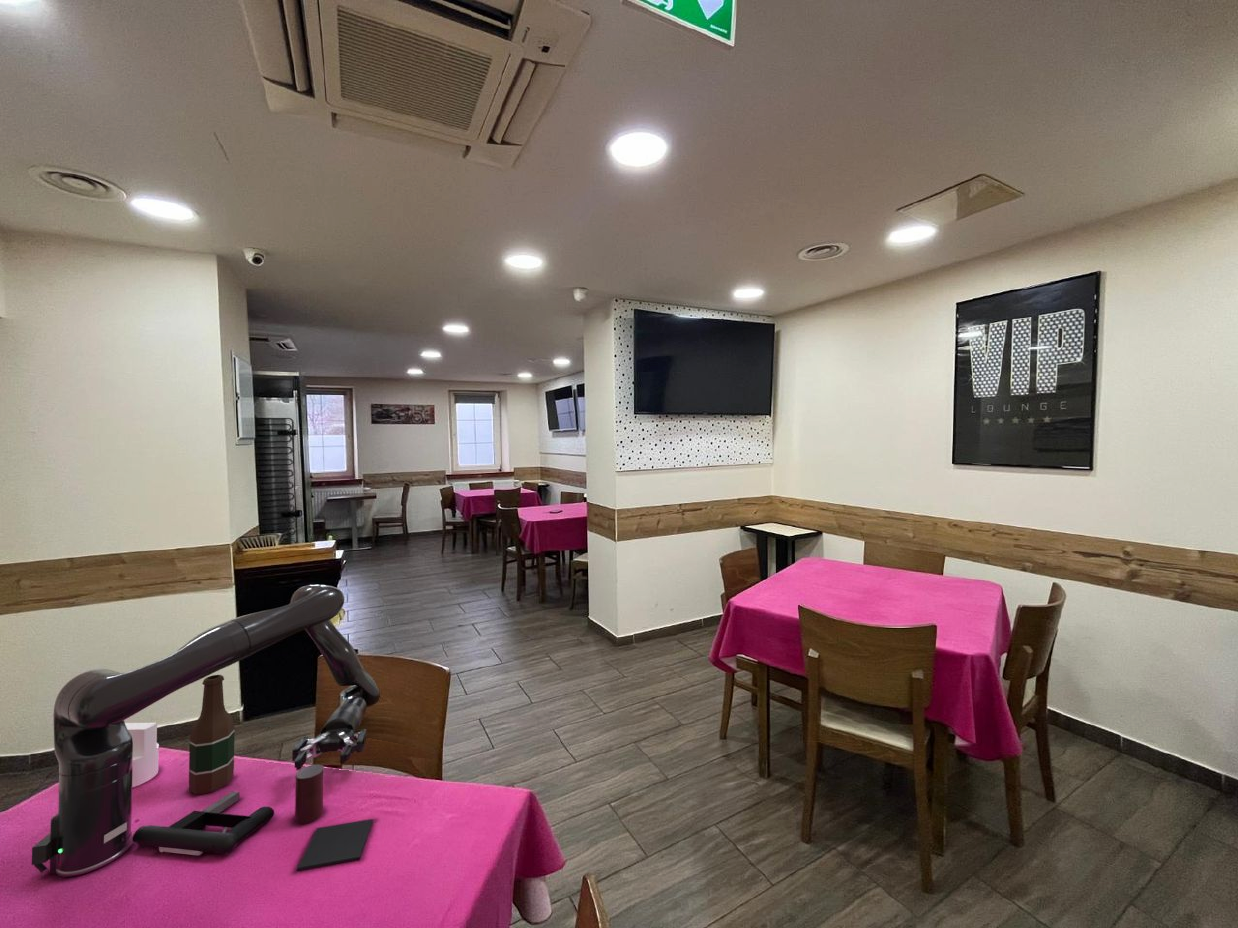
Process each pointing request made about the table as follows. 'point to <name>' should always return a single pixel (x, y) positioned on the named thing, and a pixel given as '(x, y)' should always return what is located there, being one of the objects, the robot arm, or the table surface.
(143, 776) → the base with upright slab
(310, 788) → the dark brown cylinder
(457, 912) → the table surface
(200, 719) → the beer bottle
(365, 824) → the black mat
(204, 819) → the door handle
